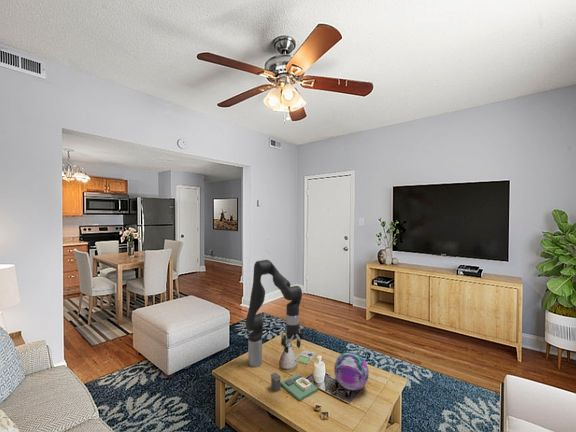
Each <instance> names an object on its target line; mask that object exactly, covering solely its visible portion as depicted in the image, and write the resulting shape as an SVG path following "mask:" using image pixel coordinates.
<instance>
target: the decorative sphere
mask: <svg viewBox="0 0 576 432" xmlns="http://www.w3.org/2000/svg"><path fill="white" fill-rule="evenodd" d="M333 370H334V375H335V378H336V381H337V382H338V383H339V385H340V386H342V387H343V388H344V389H346V390H348V391H358V390H361V389H362V388H363V387H365V386H366V384H367V383H368V380H369V374H370V372H369V368H368V364H367V361H366V360H365V359H364V358H363V356H361V355H360V354H358V353H357V352H354V351H346V352H343V353H341V354H340V355H338V356H337V358H336V360H335V362H334V367H333Z"/></svg>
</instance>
